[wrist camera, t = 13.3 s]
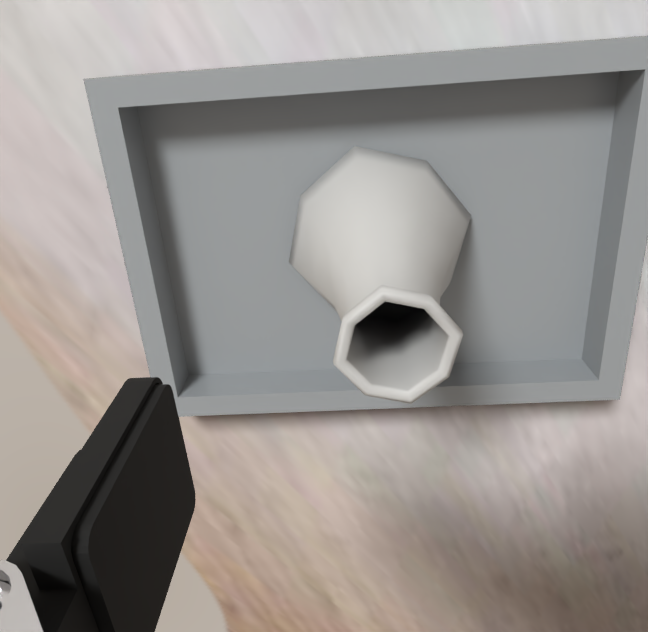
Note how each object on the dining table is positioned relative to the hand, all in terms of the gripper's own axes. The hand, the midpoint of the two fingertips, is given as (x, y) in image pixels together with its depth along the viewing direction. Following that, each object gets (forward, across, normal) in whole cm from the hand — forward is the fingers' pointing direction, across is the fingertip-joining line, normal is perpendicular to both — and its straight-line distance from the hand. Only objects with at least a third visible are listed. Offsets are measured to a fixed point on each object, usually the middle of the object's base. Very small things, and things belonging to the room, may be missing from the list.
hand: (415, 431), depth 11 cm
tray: (+14, 0, +1) cm, 15 cm away
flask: (+14, 0, +1) cm, 14 cm away
